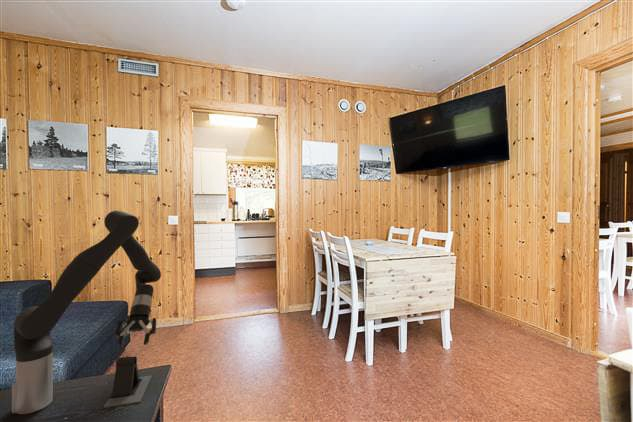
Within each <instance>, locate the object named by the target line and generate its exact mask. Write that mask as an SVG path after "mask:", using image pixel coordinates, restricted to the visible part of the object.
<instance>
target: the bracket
mask: <svg viewBox="0 0 633 422" xmlns="http://www.w3.org/2000/svg"><path fill="white" fill-rule="evenodd" d="M139 379H140V383H139V384H138V385H137V387H136V388H137V389H136V390H135V393H134V395H130V396H123V397H111V398H109V399H107V401H105V404H104V405H103V409H108V408H114V407H115V408H116V407H121V406H127V405H133V404H141V401H142V400H143V398H144V395H145V393H146V390H147V388H148V386H149V384H150V382H151V379H152V375H146V376H139Z"/></svg>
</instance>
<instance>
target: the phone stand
mask: <svg viewBox="0 0 633 422" xmlns="http://www.w3.org/2000/svg"><path fill="white" fill-rule="evenodd" d="M139 377H140V375H139V368H138V357H137V356H124V357H118V358H117V359H116V361H115V373H114V379H113V385H112V391H111V393H112V394H111V398H119V397H126V396H132V394H133V392H134V391H136V388H138V386H139V384H140V382H141V380H140V379H139Z"/></svg>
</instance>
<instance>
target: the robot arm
mask: <svg viewBox="0 0 633 422" xmlns="http://www.w3.org/2000/svg"><path fill="white" fill-rule="evenodd" d="M139 224H140V223H139V219H138V217H137V215H134V214H131V213H128V212H124V211H122V210H121V211H120V210H113V211H110V212H108V213H107V214H106V215H105V217H104V226H105V228H106V230H107V231H108V234H107V235H106V236H105V237H104V238H103V239H102V240H100V241H99V242H97V243H95V244H93V245H92V246H90V247H87V249H84V250H83V251H81V252H80V253H78V254H77V255H76V256H75V257H74V258H73V259H72V260H71V261H70V262H69V264H68V265H67V266H66V267H65V268H64V270H63V271H62V272H61V274H60V276H59V278H58V280H57V282H56V284H55V285H54V287H53V289H52V291H51V292H50V293H49V295H48V296H47V297H46V298H45V299H44V300H43V301H42V302H41V303H40V304H39V305H37V306H36V305H35V306H30V307H27V308H25V309H23V310H22V311H20V312H19V314H18V315H16V317H15V319H14V324H13V347H14V348H13V349H14V354H15V382H13V384H12V385H11V413H12V414H17V415H27V414H31V413H34V412H35V413H36V412H38V411H41V410H42V409H44V408H46V407H47V406H49V405H50V404H51V403H52V402H53V394H54V393H53V390H54V389H53V383H54V382H53V381H54V380H53V375H54V373H53V372H54V371H53V368H54V367H53V366H54V364H53V363H54V362H53V361H54V359H53V357H54V344H53V341H52V338H51V331H52V330H53V329H54V328H55V326H56V325H57V324H58V322H59V321H60V320H61V318H62V316H64V313H65V312H66V311H67V309H68V308H69V307H70V305H71V304H72V303H73V302H74V300H75V299H76V298H77V297H78V296H79V295H80V294H81V292H82V291H83V290H84V288H86V286H87V285H88V284H90V282H91V281H92V280H93V279H94V277H95V276H96V275H97V274H98V273H99V272H100V270H101V269H102V268H103V266H104V265H105V264H106V263H107V262H108V261H109V260H110V259H111V257H112V256H113V255H114V254H115V252H117V250H119V249H120V247H121V248H122V250H123V251H124V252H125V254H126V255H127V256H126V257H128V259H129V261H130V263H131V265H132V267H133V268H134V269H135V270H136V271H135V275H134V279H135V293H134V298H133V300H132V303H131V308H130V311H129V315H128V319H127V321H123V320H119V321H118V324H117V326H116V330H115V333H114V334H115V336H116V338H118V341H117V342H118V343H117V345H118V347H119V348H123V347H124V343H125V337H126V336H128V335H129V334H131V332H132V333H135V332H142V331H144V333H145V334H144V340H143V345H144V346H146V345H147V346H148V344H149V343H150V336H151V335H155V334H156V333H157V332H156V331H157V322H158V321H157V318H156V317H153V318H152V319H151V318H150V314H151V309H152V304H153V296H154V290H155V289H154V286H153V285H151V284H150V283H156V282H159V280H160V279H161V276H162V273H161V269H160V268H159V267H158V266H157V265H156V264H155V263H154V261H152V260H151V259H150V257H149V255H148V253H147V251H146V250H145V248H144V246H143V245H142V244H141V243H140V242H138V241H139V240H137V239H136V238H135V237H134V236H133V235H134V234H135V232H136V231H137V229H138V227H139ZM149 325H151V329H150V330H149V329H148V327H147V326H149ZM125 326H126V327H125ZM124 327H125V328H124ZM123 328H124V329H123ZM122 330H123V331H122Z"/></svg>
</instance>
